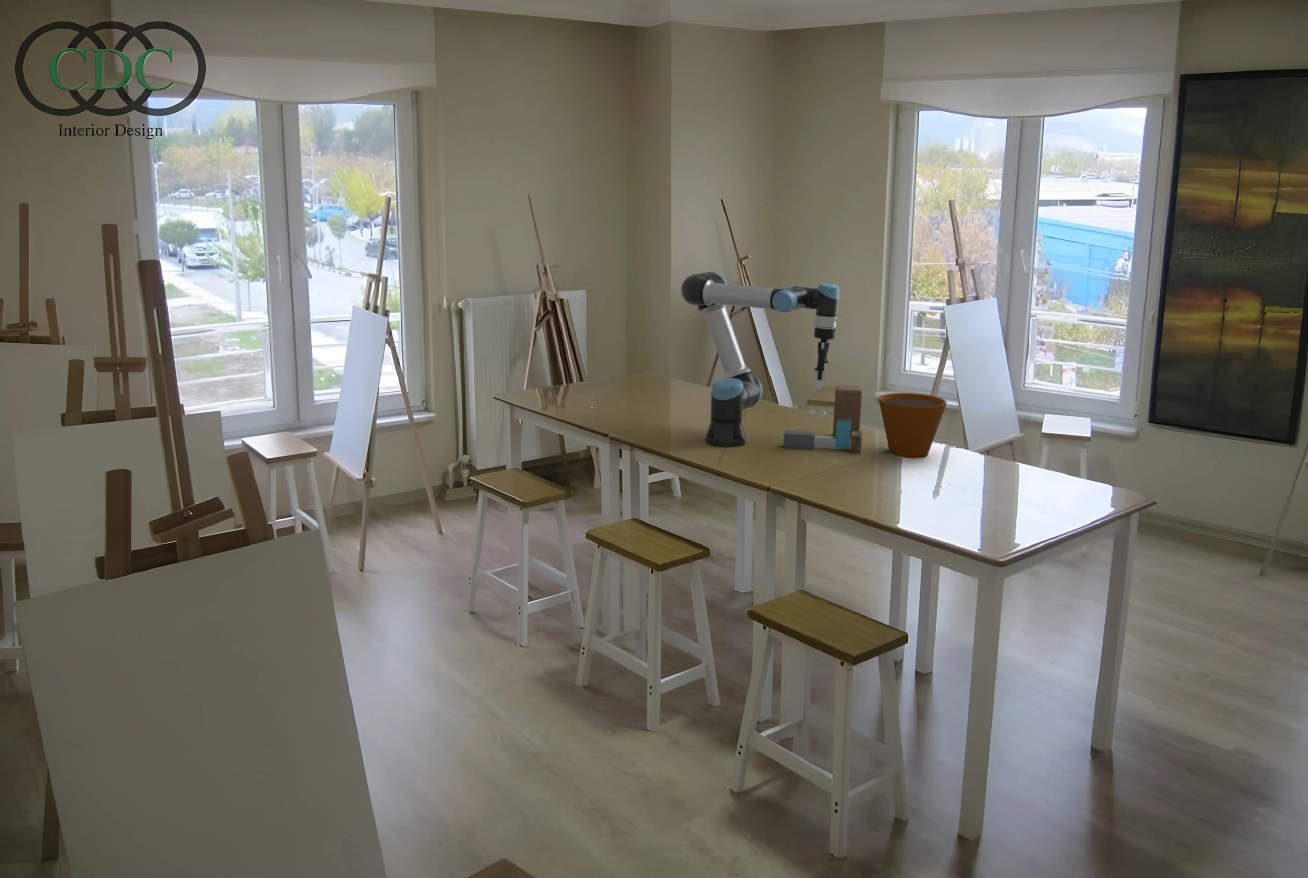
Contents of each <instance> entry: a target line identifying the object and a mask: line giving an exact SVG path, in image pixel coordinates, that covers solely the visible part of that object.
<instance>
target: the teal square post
mask: <svg viewBox="0 0 1308 878" xmlns="http://www.w3.org/2000/svg"><path fill="white" fill-rule="evenodd" d="M850 432H851V419H844V418H837V429H836V437H835V436H833V435H818V434H817V435H816V434H815V436H814V448H824V449H836V450H837V449H838V450H849V451H850V450H851V440H852V438H850Z"/></svg>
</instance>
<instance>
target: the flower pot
mask: <svg viewBox="0 0 1308 878" xmlns="http://www.w3.org/2000/svg"><path fill="white" fill-rule="evenodd" d="M878 403H879V407H880V412H881V417H882V422H883V423H882V424H883V426H884V431H885V436H886V437H885V438H886V440H887V441H886V442H887V446H888V451H889V454H891V455H893V456H896V457H900V458H906V459H923V458H927V457H928V456H929V452H930V450H931V447H932V445H933V442H934V439H935V437H936V434H937V432H938V428H939V426H940V423H941V420H942V417H943V416H944V412H945V410H946V406H947V401H946V400H945V399H944V398H942V397H940V396H935V395H930V394H925V393H916V392H915V393H913V392H894V393H887V394H886V393H885V394H882V395H880V396H879V398H878Z"/></svg>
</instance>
